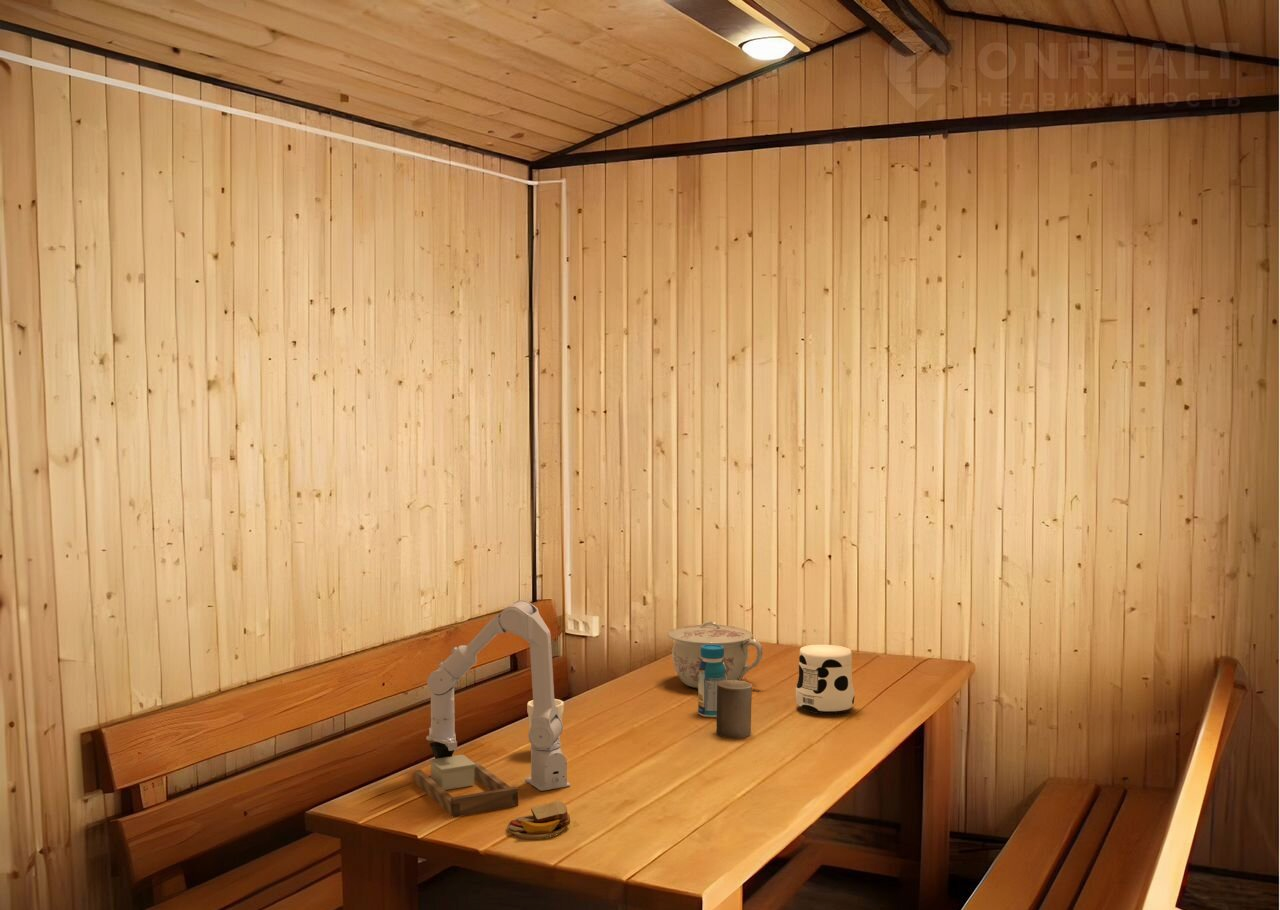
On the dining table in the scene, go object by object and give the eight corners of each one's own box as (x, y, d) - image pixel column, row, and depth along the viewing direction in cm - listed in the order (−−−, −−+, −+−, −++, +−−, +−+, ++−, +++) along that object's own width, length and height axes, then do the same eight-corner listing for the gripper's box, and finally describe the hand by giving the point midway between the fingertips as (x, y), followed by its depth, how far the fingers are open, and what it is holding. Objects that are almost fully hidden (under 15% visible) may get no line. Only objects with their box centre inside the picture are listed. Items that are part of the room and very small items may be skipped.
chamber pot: (652, 680, 387) (653, 617, 386) (726, 671, 399) (726, 610, 398) (692, 700, 362) (692, 633, 361) (769, 691, 374) (770, 625, 372)
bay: (518, 805, 269) (518, 788, 269) (453, 817, 262) (453, 799, 262) (475, 772, 292) (475, 756, 292) (414, 782, 285) (414, 766, 285)
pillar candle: (710, 734, 325) (711, 681, 324) (724, 725, 334) (725, 673, 333) (743, 740, 321) (744, 685, 320) (756, 731, 330) (757, 678, 329)
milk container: (852, 703, 359) (852, 644, 358) (856, 718, 342) (857, 657, 341) (794, 701, 361) (795, 643, 360) (796, 716, 344) (796, 655, 343)
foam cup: (568, 748, 313) (568, 699, 312) (556, 759, 304) (556, 708, 303) (534, 745, 315) (534, 697, 314) (522, 755, 306) (522, 706, 305)
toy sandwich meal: (505, 821, 260) (505, 800, 260) (567, 818, 262) (567, 797, 262) (508, 843, 248) (508, 820, 247) (573, 839, 250) (573, 817, 250)
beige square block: (476, 785, 283) (475, 764, 282) (441, 791, 278) (441, 769, 278) (463, 775, 290) (462, 754, 290) (429, 780, 286) (429, 759, 286)
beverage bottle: (716, 719, 341) (716, 650, 339) (691, 714, 346) (692, 646, 345) (732, 713, 347) (732, 645, 346) (708, 708, 352) (708, 642, 351)
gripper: (417, 712, 294) (417, 766, 294) (437, 726, 281) (437, 783, 282) (444, 708, 297) (444, 761, 298) (465, 722, 284) (465, 778, 285)
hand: (443, 771), depth 290 cm, fingers closed
